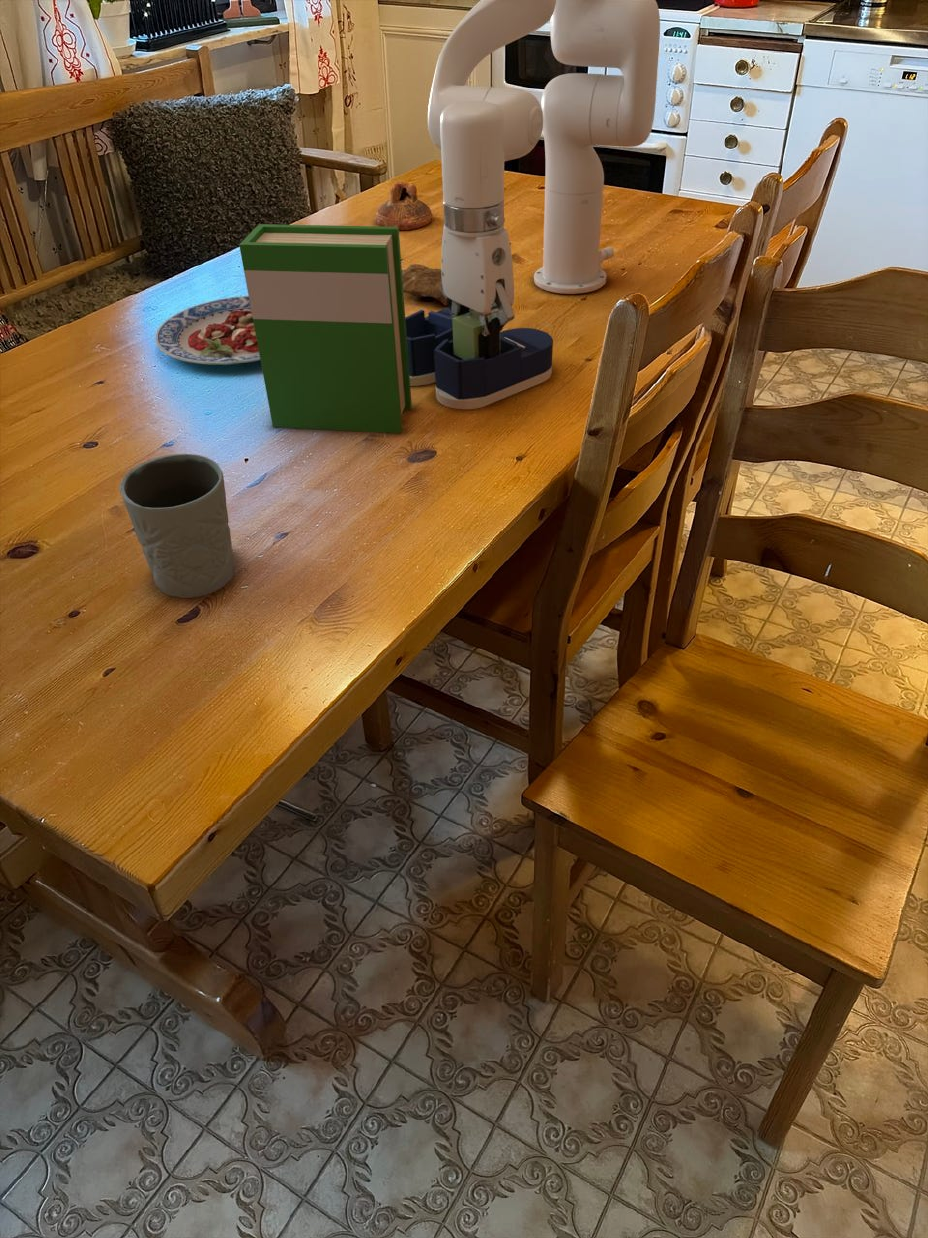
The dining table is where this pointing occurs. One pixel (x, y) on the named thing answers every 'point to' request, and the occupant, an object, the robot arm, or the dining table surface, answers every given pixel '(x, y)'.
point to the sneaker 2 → (493, 369)
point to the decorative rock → (423, 282)
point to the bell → (403, 208)
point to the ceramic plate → (211, 333)
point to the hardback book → (330, 325)
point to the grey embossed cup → (181, 522)
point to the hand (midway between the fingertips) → (476, 352)
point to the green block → (467, 335)
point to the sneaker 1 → (426, 343)
